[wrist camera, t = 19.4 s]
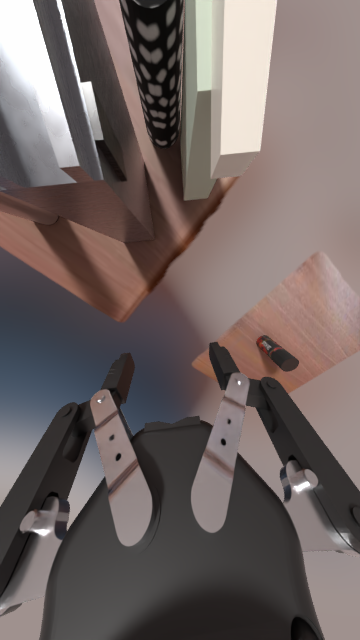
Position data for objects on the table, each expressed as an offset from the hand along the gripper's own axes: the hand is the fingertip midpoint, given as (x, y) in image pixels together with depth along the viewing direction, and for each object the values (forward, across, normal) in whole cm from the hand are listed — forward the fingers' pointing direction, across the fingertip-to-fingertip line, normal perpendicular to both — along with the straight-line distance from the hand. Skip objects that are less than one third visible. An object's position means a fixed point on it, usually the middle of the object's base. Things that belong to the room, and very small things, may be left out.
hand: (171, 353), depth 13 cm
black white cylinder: (+43, +3, +35) cm, 55 cm away
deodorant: (+33, +39, -32) cm, 60 cm away
